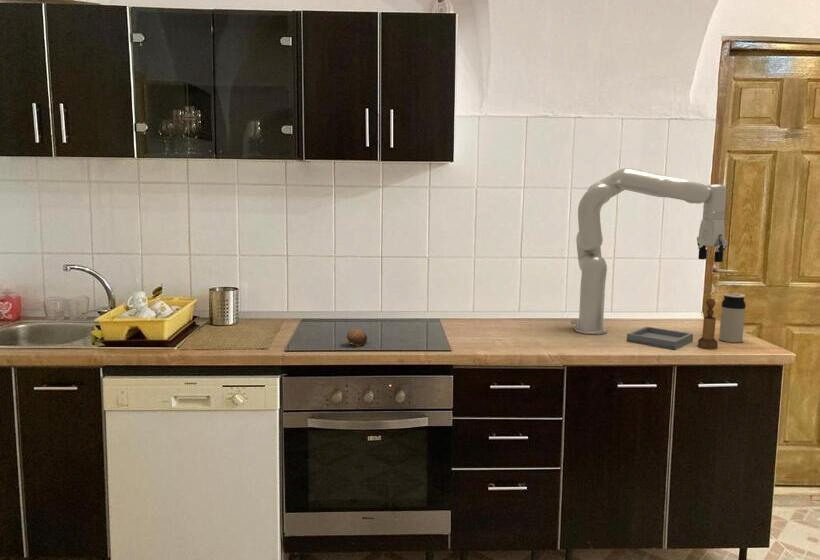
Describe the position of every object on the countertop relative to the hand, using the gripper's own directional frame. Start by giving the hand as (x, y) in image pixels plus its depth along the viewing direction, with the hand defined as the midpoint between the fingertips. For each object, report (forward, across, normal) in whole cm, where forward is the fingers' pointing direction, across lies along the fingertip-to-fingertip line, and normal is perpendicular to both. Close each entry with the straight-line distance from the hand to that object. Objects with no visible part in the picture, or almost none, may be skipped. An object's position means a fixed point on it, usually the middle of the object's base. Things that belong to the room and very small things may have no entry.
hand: (710, 260), depth 239 cm
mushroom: (+30, -4, -138) cm, 141 cm away
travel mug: (+30, +9, +5) cm, 32 cm away
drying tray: (+30, +6, -23) cm, 38 cm away
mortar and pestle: (+30, +16, -10) cm, 36 cm away
